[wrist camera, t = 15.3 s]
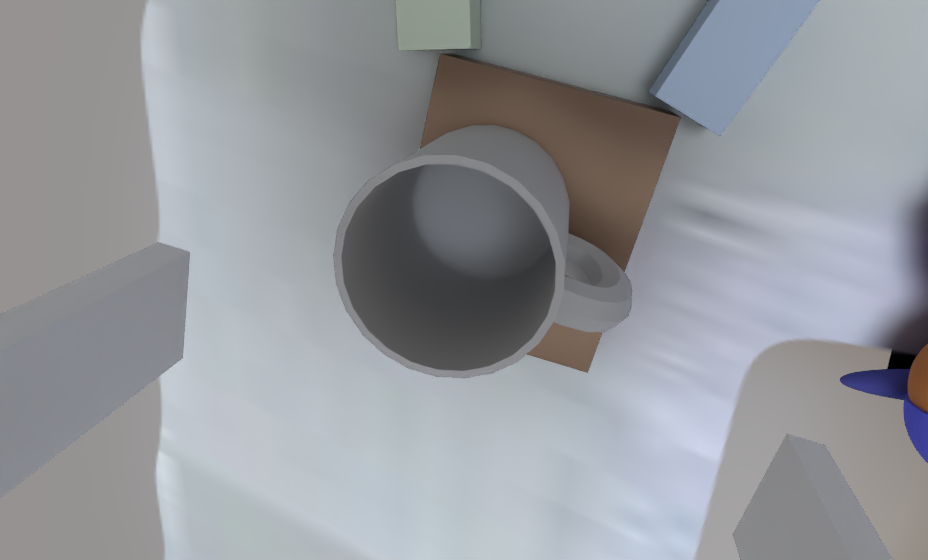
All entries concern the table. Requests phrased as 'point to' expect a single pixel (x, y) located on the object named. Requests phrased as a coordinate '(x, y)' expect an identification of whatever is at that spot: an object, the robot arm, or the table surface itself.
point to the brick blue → (727, 57)
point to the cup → (471, 256)
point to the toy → (901, 391)
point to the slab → (566, 158)
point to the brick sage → (438, 24)
